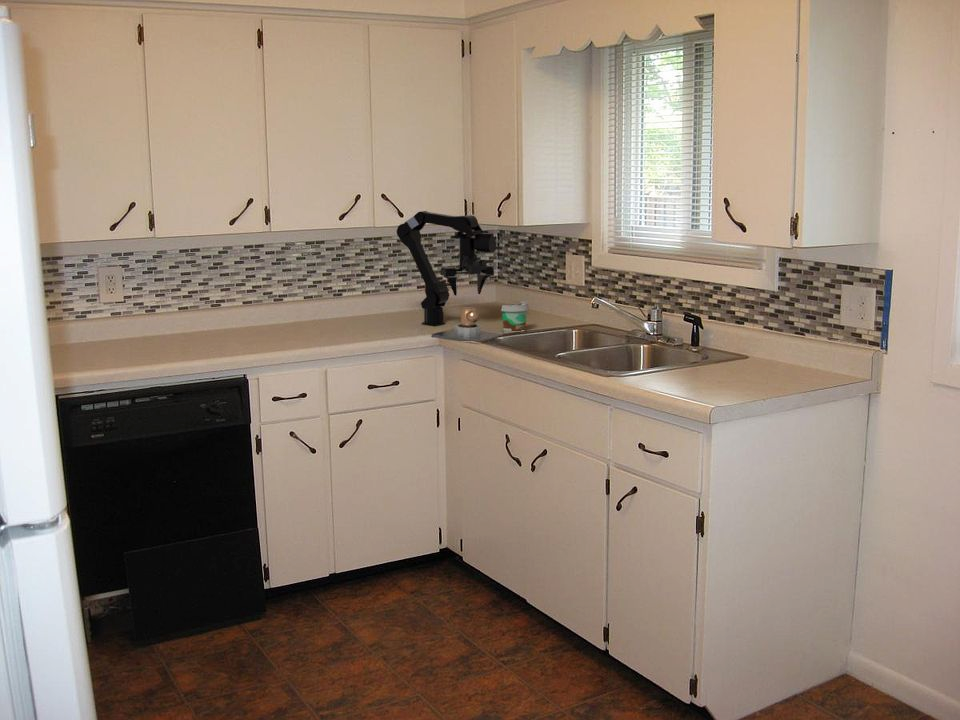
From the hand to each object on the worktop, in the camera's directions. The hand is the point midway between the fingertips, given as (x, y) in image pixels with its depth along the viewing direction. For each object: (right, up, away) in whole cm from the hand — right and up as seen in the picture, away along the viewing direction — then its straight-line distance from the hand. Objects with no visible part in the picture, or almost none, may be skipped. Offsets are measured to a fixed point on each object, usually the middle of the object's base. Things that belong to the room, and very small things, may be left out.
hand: (467, 294), depth 357 cm
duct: (0, -16, -15) cm, 21 cm away
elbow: (+1, -15, -16) cm, 22 cm away
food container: (+18, -14, -4) cm, 23 cm away
